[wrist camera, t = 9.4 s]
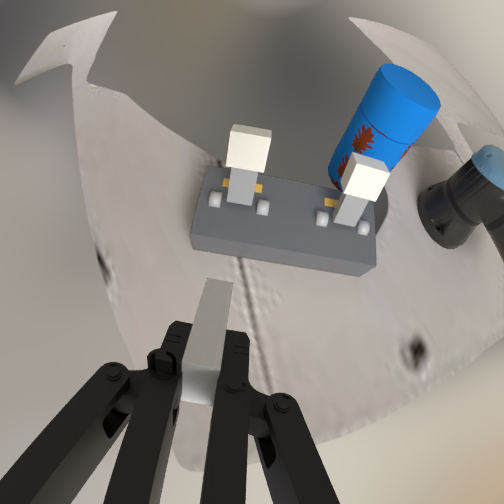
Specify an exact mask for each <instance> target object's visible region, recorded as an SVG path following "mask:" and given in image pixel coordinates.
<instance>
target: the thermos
mask: <svg viewBox="0 0 504 504" xmlns="http://www.w3.org/2000/svg"><path fill="white" fill-rule="evenodd" d="M440 107H441V104H440V100H439V98H438V96H437V95H436V93H435V92H434V91H433V90H432V88H431V87H430V86H429V85H428V84H427V83H426V82H424V81H423V80H422V79H421V78H420V77H418V76H417V75H415V74H414V73H412V72H411V71H409V70H407V69H405V68H403V67H400V66H397V65H394V64H384V65H382V66H381V67H380V68H379V70H378V71H377V73H376V74H375V76H374V78H373V80H372V82H371V84H370V86H369V88H368V90H367V92H366V93H365V95H364V97H363V99H362V101H361V103H360V105H359V107H358V109H357V111H356V112H355V115H354V116H353V118H352V120H351V122H350V124H349V126H348V127H347V130H346V131H345V133H344V135H343V137H342V139H341V141H340V142H339V144H338V146H337V148H336V150H335V152H334V154H333V156H332V159H331V161H330V163H329V166H328V173H329V177H330V179H331V181H332V183H333V184H334V185H335V186H336V187H337V188H338V190H340V191H343V189H342V185H341V182H340V181H341V178H342V176H343V173H344V171H345V168H346V166H347V164H348V161H349V159H350V156H351V154H352V152H354V153H358V154H361V155H364V156H368V157H371V158H374V159H377V160H380V161H383V162H384V163H385V165H386V166H387V168H388V170H389V172H391V170H392V169H393V168H394V167H395V166H396V164H397V163H398V162H399V161H400V160H401V158H402V157H403V156H404V155H405V154H406V152H407V151H408V150H409V149H410V147H411V146H412V145H413V144H414V142H415V141H416V140H417V139H418V138H419V136H420V135H421V134H422V133H423V131H424V130H425V129H426V128H427V126H428V125H429V123H430V122H431V121H432V120H433V118H434V117H435V116H436V114H437V112H438V110H439V109H440Z"/></svg>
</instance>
